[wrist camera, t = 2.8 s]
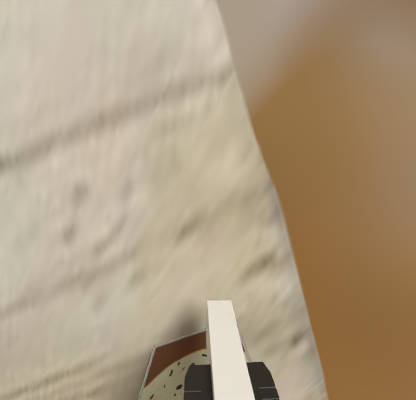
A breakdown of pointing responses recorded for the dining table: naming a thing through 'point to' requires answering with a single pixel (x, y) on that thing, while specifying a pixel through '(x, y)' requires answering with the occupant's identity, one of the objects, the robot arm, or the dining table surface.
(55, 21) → the dining table surface
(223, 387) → the robot arm
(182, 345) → the food container
